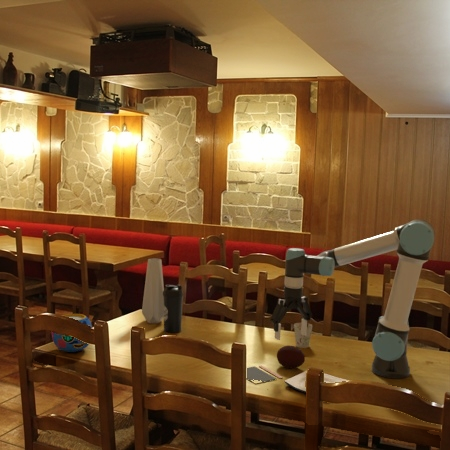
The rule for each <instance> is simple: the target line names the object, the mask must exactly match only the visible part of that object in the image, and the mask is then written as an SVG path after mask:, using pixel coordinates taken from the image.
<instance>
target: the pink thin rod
mask: <svg viewBox="0 0 450 450" xmlns="http://www.w3.org/2000/svg"><path fill="white" fill-rule="evenodd" d="M258 366H259V367H258V368H260V367H261V368H260V369H261V370H263V369H264V371H265V370H266V371H265V372H267V371H268V372H267V373H269V374H270V375H272V374H273V376H274V375H275V376H274V377H275V378H278V379H279V378H280V380H281V378H282V379H283V378H284V376H281V375H279V374H278V373H276V372H274V371H272V370H270V369H269V368H267V367H265V366H263V365H258Z"/></svg>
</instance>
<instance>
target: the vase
mask: <svg viewBox="0 0 450 450" xmlns="http://www.w3.org/2000/svg"><path fill="white" fill-rule="evenodd" d="M162 262H163V261H162V259H161V258H156V257H155V258H148V259H147V264H146V265H147V266H146V275H145V281H144V283H145V284H144V290H143V298H142V299H143V300H142V306H141V307H142V308H141V313H142V314H141V315H143V317H144V319H145V321H146V322H147V323H148V324H160V323H161V322H162V321H163V320H164V297H163V291H164V289H165V287H164V275H163V274H164V273H163V263H162Z"/></svg>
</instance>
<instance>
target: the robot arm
mask: <svg viewBox="0 0 450 450" xmlns="http://www.w3.org/2000/svg"><path fill="white" fill-rule="evenodd" d="M435 236H436V233H435V229H434V226H433V225H432V224H431V223H430V222H429V221H428V220H425V219H423V218H422V219H421V218H416V219H413V220H410V221H408V222H407V223H405V224H402V225H399V226H396V227H395V228H394V229H393V230H392V231H388V232H385V233H383V234H382V233H381V234H379V235H375V236H372V237H368V238H365V239H362V240H358V241H356V242H353V243H349V244H346V245H342V246H339V247H336V248H333V249H331V250H330V249H329V250H325V251H321V252H320V253H319V254H318V255H309V254H306V251H305V249H303V248H298V247H296V248H295V247H292V248H288V249H287V250H286V253H285V254H286V255H285V263H284V264H285V266H284V267H285V268H284V283H283V284H284V287H283V295H284V299H281V298H278V299H277V301H276V305H275V308H274V310H273V313H272V315H271V317H270V318H269V321H270V322H271V323H273V331H274V339H275V340H277V341H281V329H282V324H281V321H282V320H283V319H284V318H285V316H286V314H287V313H288V312H289V311H290V310H293V309H294V310H297V311H298V313H300V315H301V316H302V318H301V322H300V323H301V334H302V335H304V336H306V333H307V327H308V324H309V321H310V320H311V319H312V318H313V313H312V310H311V308H310V305H309V302H308V299H309V298H308V297H307V296H305V295H303V290H304V289H303V286H304V274H306V275H307V274H308V275H315V276H316V275H317V276H322V277H327V276H328V277H332V276H333V275H334V272H335V268H338V267H340V266H341V267H342V266H344V265H347V264H348V265H349V264H351V263H354V262H355V263H356V262H358V261H362V260H365V259H369V258H372V257H376V256H379V255H383V254H386V253H390V252H393V251H396V255H397V256H398V262H397V267H396V270H395V273H394V277H393V280H392V286H391V290H390V294H389V297H388V299H387V300H388V301H387V305H386V308H385V312H384V315H382V316H379V317H378V321H377V327H376V330H375V334H374V337H373V338H372V340H371V342H372V343H371V346H372V350H373V352H374V354H375V356H374V359H373V361H372V364H371V372H373V374H375V375H377V376H379V377H384V378H388V379H405V378H408V377H409V376H410V375H411V367H410V366H409V361H408V356H407V355H408V354H407V351H408V340H409V339H408V337H409V333H410V330H411V329H410V325H409V316H410V313H411V309H412V305H413V301H414V299H415V298H414V297H415V295H416V290H417V287H418V283H419V279H420V277H421V272H422V268H423V265H424V264H425V263H426V262H428V261H429V259H430V255H431V251H432V247H433V245H434V243H435Z"/></svg>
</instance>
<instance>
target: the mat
mask: <svg viewBox="0 0 450 450" xmlns="http://www.w3.org/2000/svg"><path fill="white" fill-rule="evenodd" d="M246 368H247V379H249V380H253V379H254V380H258V381H260V380H261V381H262V382H263V383H265V382H264V381H268V382H271V381H270V380H273V381H276V380H277V377H275V376H274V375H273V376H272V374H270V373H269V374H268V372H267V371H265V370H264V371H263V369H261V368H259V367H256V366H250V367H246ZM247 379H246V380H247ZM275 379H276V380H275ZM249 380H248V381H249ZM254 380H253V381H254Z"/></svg>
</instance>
